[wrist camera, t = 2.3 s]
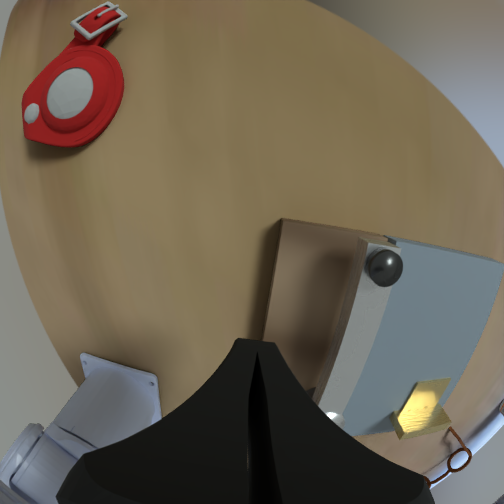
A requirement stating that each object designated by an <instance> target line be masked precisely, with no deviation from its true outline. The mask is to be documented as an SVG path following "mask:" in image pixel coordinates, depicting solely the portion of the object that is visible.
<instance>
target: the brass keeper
mask: <svg viewBox="0 0 504 504" xmlns="http://www.w3.org/2000/svg"><path fill="white" fill-rule="evenodd" d="M450 381H451V378H450V377H449V378H442V379H435V380H427V381H419V382H416V384H415V386H414V388H413V389H412V391H411V393H410V395H409V397H408V398H407V400H406V402H405V403H404V405H403V407H402V408H401V410H396V411H393V413H392V414H391V416H390V418H389V419H390V421H391V423H392V425H393V427H394V429H395V432H396V434H397V436H398V438H399V440H403V439H408V438H413V437H417V436H422V435H426V434H430V433H433V432H437V431H441V430H444V429H447V427H448V426H449V425H450V423H451V420H450V419H449V417H448V416H447V414H446V412H445V411H444V409H443V408H442V407H441V405H440V404H439V403H438V401H439V399H440V398H441V396H442V395H443V393H444V391H445V390H446V388H447V386H448V384H449V383H450ZM437 403H438V404H437Z"/></svg>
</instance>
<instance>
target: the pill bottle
mask: <svg viewBox="0 0 504 504" xmlns="http://www.w3.org/2000/svg"><path fill="white" fill-rule="evenodd" d="M499 411H500V412H501V413H502V415H503V416H504V400H503V401H502V403H501V405H500V407H499Z"/></svg>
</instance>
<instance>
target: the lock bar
mask: <svg viewBox="0 0 504 504" xmlns="http://www.w3.org/2000/svg"><path fill="white" fill-rule="evenodd" d="M400 253H401V248H399V247H397V246H395V245H394V244H392V243H390V242H384V241H379V240H373V239H367V238H362V237H358V241H357V246H356V251H355V255H354V260H353V264H352V269H351V273H350V277H349V281H348V285H347V289H346V293H345V297H344V301H343V305H342V308H341V312H340V316H339V319H338V323H337V326H336V329H335V333H334V336H333V339H332V342H331V346H330V349H329V352H328V355H327V358H326V361H325V364H324V367H323V370H322V373H321V375H320V378H319V381H318V384H317V387H316V389H315V392H314V395H313V397H312V400H313V401H314V402H315V403H316V404H317V405H318V407H319V408H320V409H321V410H322V411H323V412H324V413H325V414H326V415H327V416H328V417H329V418H330V419H331V420H332V421H333V422H334V423H336V424H337V425H338V426H339V427H340V428H341V429H343V428H344V426H345V420H344V417H343V414H342V413H343V411H344V409H345V407H346V405H347V403H348V401H349V399H350V397H351V395H352V393H353V391H354V388H355V386H356V384H357V382H358V379H359V377H360V375H361V373H362V370H363V368H364V365H365V363H366V361H367V358H368V356H369V353H370V350H371V348H372V345H373V343H374V340H375V337H376V334H377V332H378V329H379V326H380V323H381V320H382V317H383V314H384V311H385V308H386V305H387V301H388V298H389V295H390V291H391V288H392V285H393V284H395V283H396V282H397V281H398V280H399V278H400V277H401V274H402V272H403V262H402V259H401V257H400Z"/></svg>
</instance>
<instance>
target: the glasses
mask: <svg viewBox="0 0 504 504" xmlns="http://www.w3.org/2000/svg"><path fill="white" fill-rule="evenodd" d="M449 430H450V431H451V432H452V433H453V435H454V436H455V437H456V438H457V439H458V441H459V442H460V444H461V445H462V447H463V448H460V449H458V450H457V451H455V452H454V453H453V454H451V456H450V457H449V459H448V461H447V466H448V471H447V472H446V473H445V474H443V475H442V476H440V477H439V478H437V479H436V480H434V481H431V482H430V480H429V479H428V478H427V477H425V476H423V477H424V479H425V480H426V482H427V485H428V487H429V489H430V487H431V484H434V483H436V482H438V481H440V480H441V479H443V478H444V477H445V476H447V475H448V473H449V472H452V473H453V472H458V471H461V470H462V469H464V468H465V467H466V466H467V465H468V464H469V463H470V461H471V458H472V453H471V451H470V450H469V449H468V448H466V446H465V445H464V444H463V442H462V440H461V438H460V437H459V436H458V435H457V434H456V432H455V431H454V430H453V429H452V427H451V426H450V427H449ZM460 451H466V452H467V453H468V455H469V457H468V460H467V462H466V463H465V464H464V465H463V466H462V467H460V468H458V469H452V468H451V465H450V462H451V459H452V458H453V456H454V455H455V454H457V453H458V452H460Z"/></svg>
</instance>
